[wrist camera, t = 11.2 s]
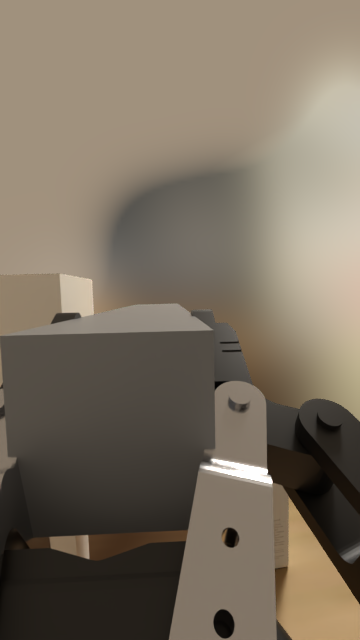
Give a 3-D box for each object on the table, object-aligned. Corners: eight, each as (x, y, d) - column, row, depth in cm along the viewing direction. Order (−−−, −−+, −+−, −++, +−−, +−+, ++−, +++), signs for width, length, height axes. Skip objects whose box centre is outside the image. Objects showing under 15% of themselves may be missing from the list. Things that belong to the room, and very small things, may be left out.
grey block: (178, 344, 30) (177, 303, 30) (216, 528, 6) (213, 329, 6) (137, 345, 30) (136, 304, 30) (13, 538, 6) (-1, 336, 6)
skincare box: (234, 531, 39) (233, 440, 38) (266, 526, 39) (265, 437, 38) (253, 575, 33) (252, 468, 32) (290, 568, 33) (290, 463, 32)
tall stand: (118, 539, 38) (106, 279, 35) (92, 666, 25) (69, 271, 22) (45, 543, 38) (26, 281, 35) (-20, 674, 25) (-58, 274, 22)
